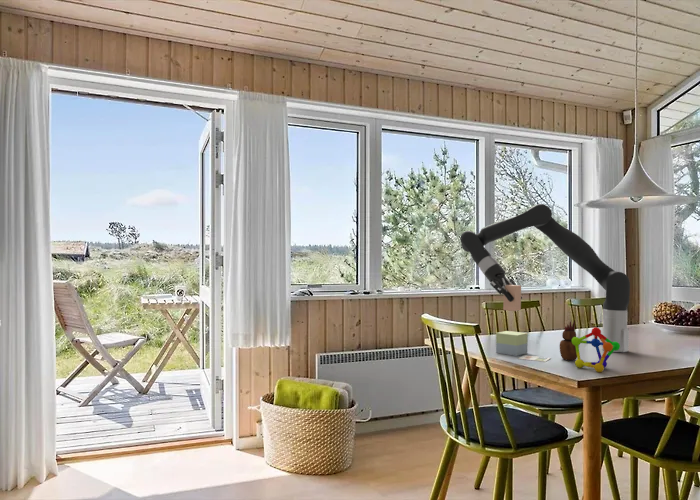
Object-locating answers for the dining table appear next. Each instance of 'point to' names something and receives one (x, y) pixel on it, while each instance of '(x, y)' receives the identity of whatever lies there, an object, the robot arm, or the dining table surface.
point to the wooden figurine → (568, 343)
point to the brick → (516, 293)
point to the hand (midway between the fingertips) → (516, 299)
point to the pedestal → (511, 343)
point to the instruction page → (534, 358)
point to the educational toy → (596, 342)
